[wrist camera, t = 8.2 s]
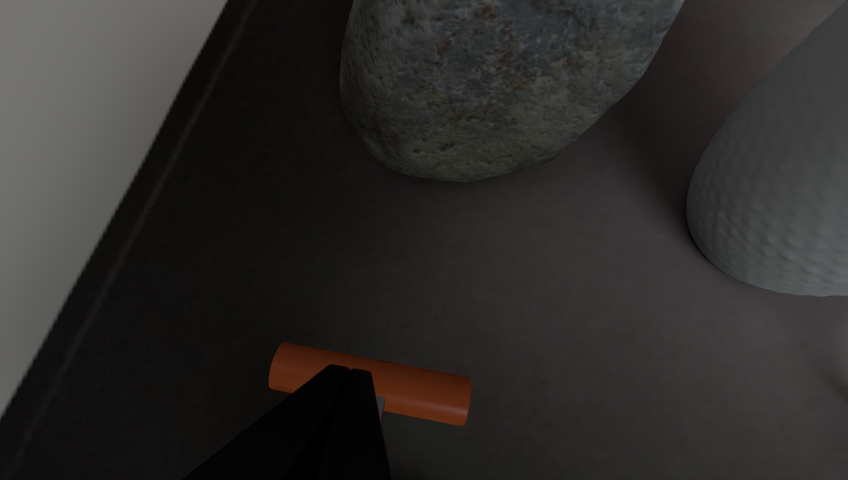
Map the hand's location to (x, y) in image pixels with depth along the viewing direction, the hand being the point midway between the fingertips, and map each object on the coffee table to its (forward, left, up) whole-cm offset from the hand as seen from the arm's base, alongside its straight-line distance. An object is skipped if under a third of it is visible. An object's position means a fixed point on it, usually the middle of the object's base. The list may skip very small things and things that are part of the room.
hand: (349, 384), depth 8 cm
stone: (+16, -6, -13) cm, 22 cm away
